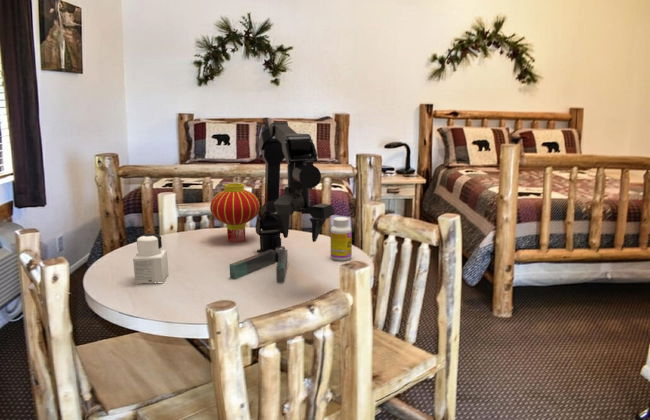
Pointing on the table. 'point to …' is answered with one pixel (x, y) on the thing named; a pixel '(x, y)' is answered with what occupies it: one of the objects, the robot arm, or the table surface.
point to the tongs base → (254, 263)
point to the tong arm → (282, 266)
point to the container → (150, 260)
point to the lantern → (235, 209)
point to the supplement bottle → (341, 239)
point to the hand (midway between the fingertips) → (299, 239)
